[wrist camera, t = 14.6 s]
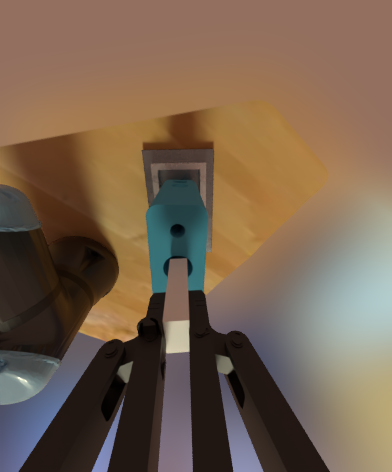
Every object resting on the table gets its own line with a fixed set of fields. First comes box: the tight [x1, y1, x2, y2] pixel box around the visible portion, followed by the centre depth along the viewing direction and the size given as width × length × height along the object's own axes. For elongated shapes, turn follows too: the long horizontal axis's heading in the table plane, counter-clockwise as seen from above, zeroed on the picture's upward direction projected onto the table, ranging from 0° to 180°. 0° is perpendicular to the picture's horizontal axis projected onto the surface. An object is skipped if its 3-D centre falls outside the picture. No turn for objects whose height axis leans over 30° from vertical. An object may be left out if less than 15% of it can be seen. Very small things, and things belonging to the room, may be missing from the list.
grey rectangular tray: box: [142, 149, 214, 252], centre depth 35 cm, size 12×20×3 cm, turn 1°
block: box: [146, 180, 208, 294], centre depth 26 cm, size 12×5×20 cm, turn 178°
